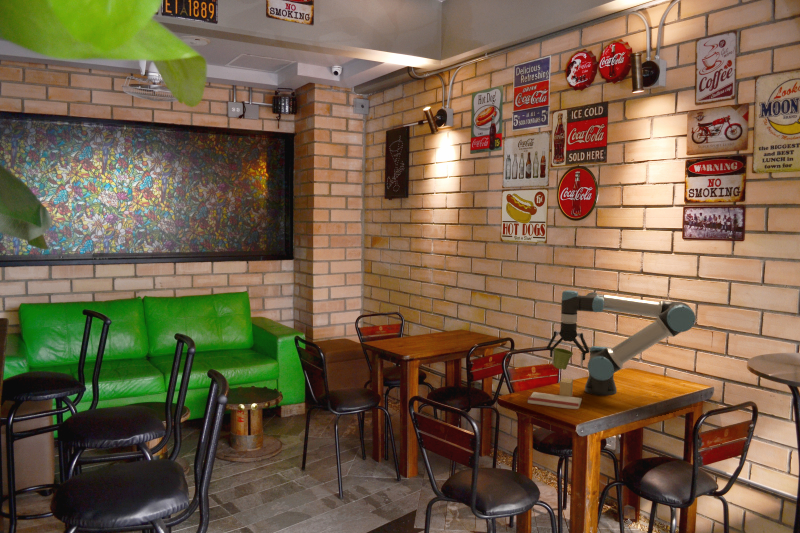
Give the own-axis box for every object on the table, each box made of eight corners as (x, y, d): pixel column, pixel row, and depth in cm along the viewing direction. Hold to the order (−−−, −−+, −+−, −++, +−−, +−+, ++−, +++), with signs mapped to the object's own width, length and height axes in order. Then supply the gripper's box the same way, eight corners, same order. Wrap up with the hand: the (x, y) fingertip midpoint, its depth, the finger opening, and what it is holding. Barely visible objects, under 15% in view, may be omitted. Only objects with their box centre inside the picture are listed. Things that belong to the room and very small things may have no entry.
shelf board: (581, 401, 285) (581, 395, 284) (578, 409, 272) (578, 403, 271) (533, 394, 294) (533, 389, 293) (527, 402, 281) (528, 397, 281)
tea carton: (572, 394, 295) (572, 379, 294) (570, 399, 288) (570, 383, 287) (561, 393, 297) (562, 377, 296) (559, 397, 290) (559, 381, 289)
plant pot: (547, 366, 291) (551, 349, 289) (553, 362, 299) (557, 346, 297) (565, 372, 286) (570, 355, 285) (571, 369, 294) (575, 352, 293)
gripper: (596, 323, 288) (594, 366, 290) (544, 319, 297) (542, 360, 299) (594, 325, 281) (593, 369, 283) (541, 321, 291) (540, 364, 292)
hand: (567, 365), depth 291 cm, fingers open, 13 cm apart
